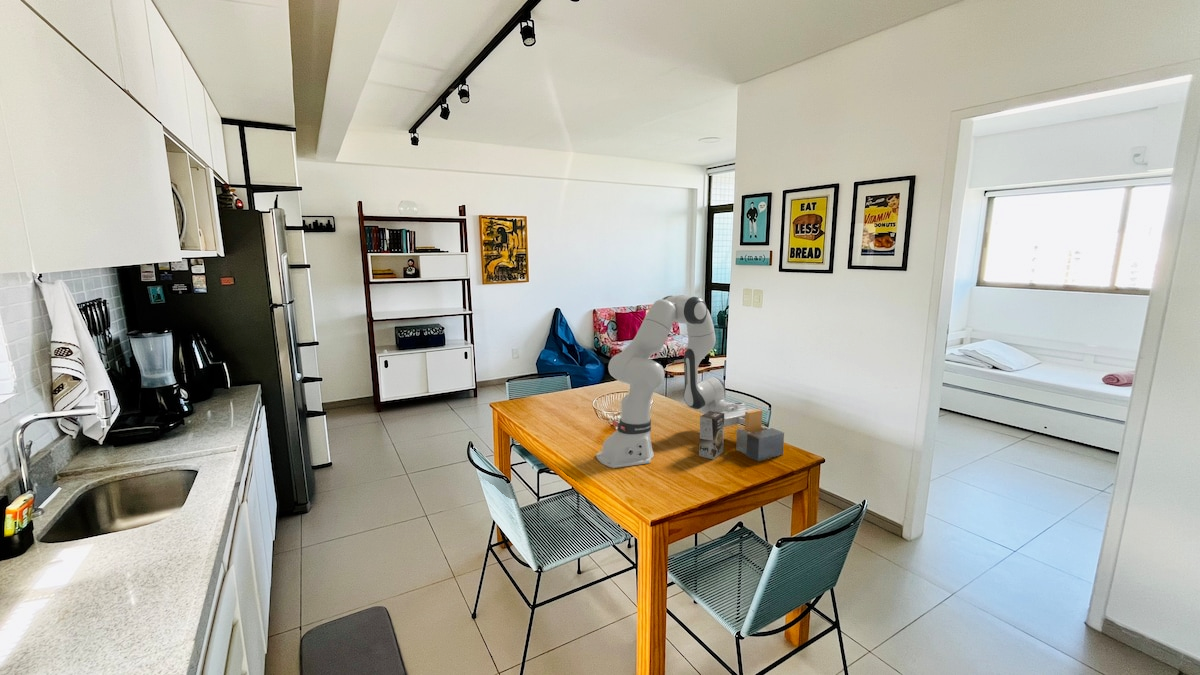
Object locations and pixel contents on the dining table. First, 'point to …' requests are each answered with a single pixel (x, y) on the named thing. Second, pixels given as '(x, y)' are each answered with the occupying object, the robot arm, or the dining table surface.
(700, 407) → the robot arm
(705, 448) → the coffee box
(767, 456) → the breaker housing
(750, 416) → the breaker paddle
